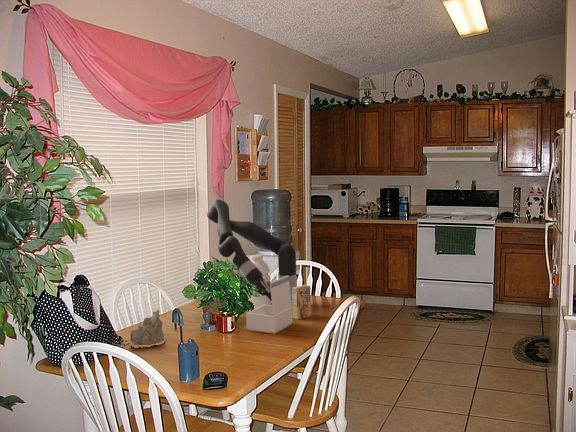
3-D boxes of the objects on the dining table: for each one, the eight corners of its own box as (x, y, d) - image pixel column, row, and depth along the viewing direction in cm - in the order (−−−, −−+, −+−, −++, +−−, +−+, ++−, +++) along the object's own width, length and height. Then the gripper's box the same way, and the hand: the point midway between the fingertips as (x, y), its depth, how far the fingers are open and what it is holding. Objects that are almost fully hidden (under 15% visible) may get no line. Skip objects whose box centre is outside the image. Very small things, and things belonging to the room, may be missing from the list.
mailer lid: (273, 315, 261) (269, 282, 260) (291, 306, 276) (287, 275, 275) (274, 315, 260) (270, 282, 260) (292, 306, 275) (288, 275, 274)
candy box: (305, 314, 292) (304, 284, 290) (311, 316, 288) (310, 285, 287) (292, 318, 286) (291, 287, 284) (297, 319, 283) (296, 288, 281)
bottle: (241, 306, 311) (239, 254, 308) (265, 303, 317) (263, 252, 314) (250, 312, 298) (248, 258, 295) (275, 308, 304) (273, 256, 301)
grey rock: (162, 334, 265) (158, 302, 263) (169, 346, 250) (165, 312, 248) (127, 341, 260) (123, 309, 257) (132, 353, 245) (128, 319, 242)
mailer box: (246, 330, 268) (246, 313, 268) (265, 320, 283) (264, 304, 282) (275, 333, 261) (274, 316, 260) (292, 323, 276) (292, 307, 275)
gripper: (253, 274, 282) (276, 301, 277) (238, 280, 270) (262, 308, 265) (262, 264, 278) (285, 291, 274) (247, 269, 267) (271, 298, 262)
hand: (274, 300), depth 270 cm, fingers closed
